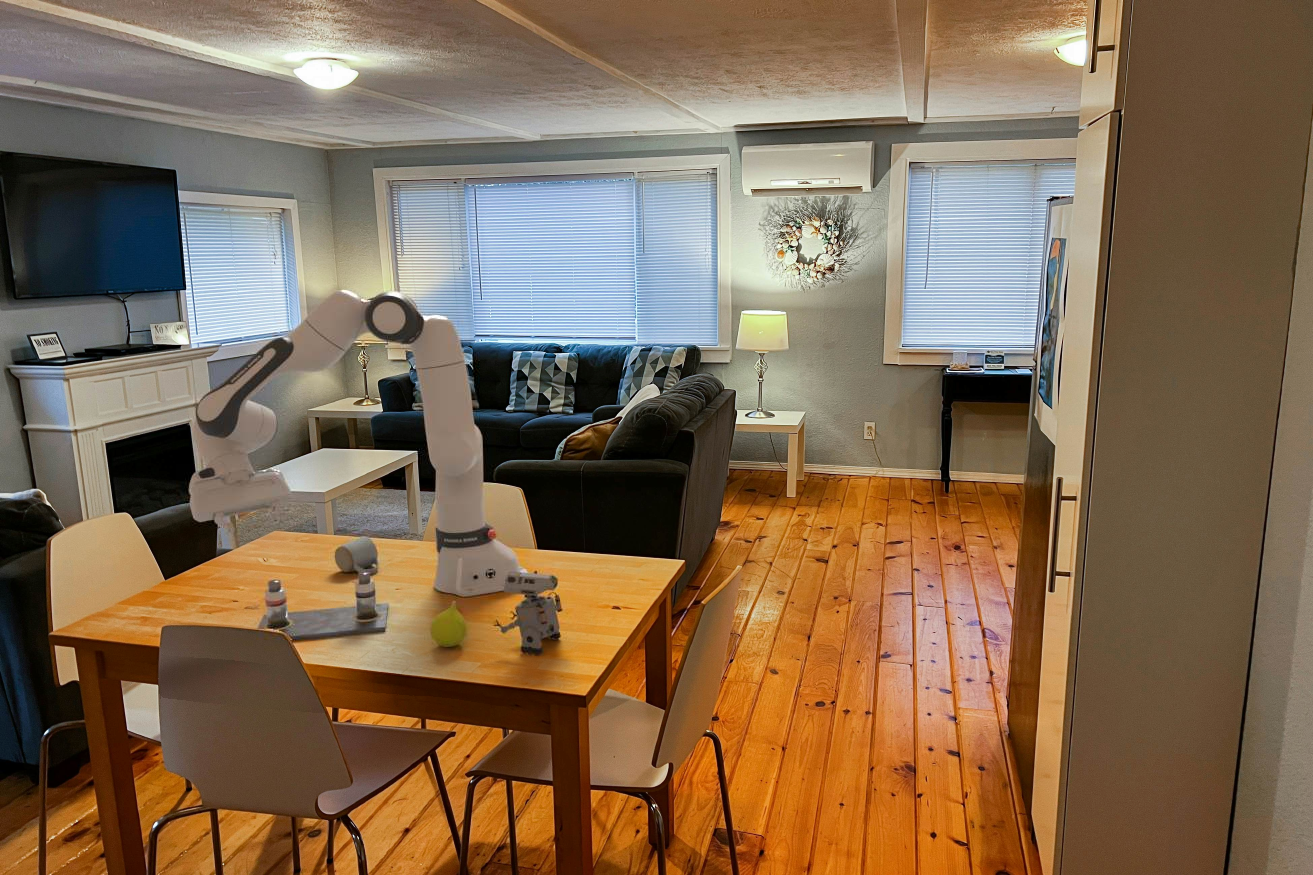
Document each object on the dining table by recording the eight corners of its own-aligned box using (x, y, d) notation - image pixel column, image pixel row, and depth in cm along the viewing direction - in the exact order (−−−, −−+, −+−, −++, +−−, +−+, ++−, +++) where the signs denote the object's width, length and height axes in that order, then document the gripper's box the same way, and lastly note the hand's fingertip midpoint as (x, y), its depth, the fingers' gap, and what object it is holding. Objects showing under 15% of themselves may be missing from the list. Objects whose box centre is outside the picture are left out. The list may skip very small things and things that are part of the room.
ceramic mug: (333, 571, 232) (331, 541, 231) (359, 561, 239) (357, 533, 237) (361, 579, 227) (359, 549, 225) (387, 569, 233) (386, 540, 232)
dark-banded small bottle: (377, 611, 202) (374, 569, 200) (376, 618, 198) (373, 575, 196) (358, 613, 201) (354, 571, 199) (356, 620, 197) (353, 577, 195)
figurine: (517, 632, 192) (514, 563, 189) (567, 639, 188) (564, 569, 185) (494, 649, 184) (491, 577, 181) (546, 657, 180) (543, 584, 177)
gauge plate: (388, 607, 207) (388, 602, 207) (385, 631, 194) (384, 625, 194) (264, 619, 202) (263, 614, 201) (252, 644, 188) (251, 639, 188)
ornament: (471, 638, 190) (468, 591, 188) (463, 652, 183) (460, 604, 181) (436, 638, 190) (433, 592, 188) (427, 652, 183) (424, 604, 181)
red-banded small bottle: (290, 619, 198) (286, 577, 196) (287, 626, 194) (283, 583, 192) (269, 621, 197) (265, 578, 195) (266, 628, 193) (261, 585, 191)
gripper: (276, 475, 212) (298, 525, 207) (180, 492, 199) (201, 545, 193) (282, 459, 208) (304, 509, 203) (185, 475, 195) (206, 529, 189)
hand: (253, 527), depth 198 cm, fingers open, 8 cm apart
